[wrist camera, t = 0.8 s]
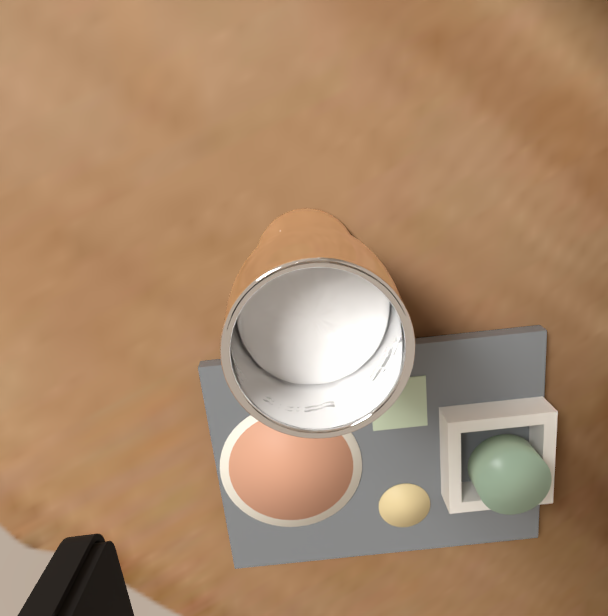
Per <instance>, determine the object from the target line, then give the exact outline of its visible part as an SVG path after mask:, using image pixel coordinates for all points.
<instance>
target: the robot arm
mask: <svg viewBox="0 0 608 616" xmlns="http://www.w3.org/2000/svg"><path fill="white" fill-rule="evenodd" d="M18 616H134V614H133V610H132V606H131V603H130V599H129V595H128V592H127V588H126V585H125V581H124V578H123V574H122V570H121V567H120V563H119V560H118V556H117V552H116V549H115V546H114V544H113V543H112V542H111V541H107V542H105V540H104V538H103V536H102V535H101V534H91V535H83V536H75V537H67V538H65V539H64V540H63V541H62V542H61V543H60V545H59V547H58V548H57V550H56V552H55V553H54V555H53V557H52V558H51V560H50V562H49V564H48V565H47V567H46V569H45V570H44V572H43V574H42V575H41V577H40V579H39V580H38V582H37V584H36V586H35V587H34V589H33V591H32V592H31V594H30V596H29V597H28V599H27V601H26V603H25V604H24V606H23V608H22V609H21V611H20V613H19V614H18Z"/></svg>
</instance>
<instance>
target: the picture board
mask: <svg viewBox="0 0 608 616" xmlns="http://www.w3.org/2000/svg"><path fill="white" fill-rule="evenodd" d="M546 343H547V330H546V329H544V328H543V327H542V326H540V325H535V326H526V327H516V328H507V329H498V330H488V331H479V332H469V333H460V334H451V335H441V336H432V337H423V338H415V358H414V364H413V368H412V371H411V374H410V377H409V380H408V382H407V384H406V386H405V388H404V390H403V391H402V393H401V395H400V396H399V397H398V399H397V400H396V401H395V403H394V404H393V405H392V406H391V407H390V408H389V409H388V410H387V411H386V412H385V413H384V414H383V415H381V416H380V417H379V418H378V419H376V420H375V421H373V422H372V423H370V424H368V425H367V426H365V427H363V428H361V429H359V430H356V431H354V432H351V433H348V434H345V435H341V436H337V437H331V438H319V439H313V438H301V437H295V436H291V435H287V434H284V433H281V432H278V431H276V430H274V429H272V428H270V427H268V426H266V425H264V424H262V423H261V422H259V421H258V420H257V419H255V418H254V417H253V416H251V415H250V414H249V413H248V412H247V411H246V410H245V409H244V408H243V407H242V406H241V405H240V403H239V402H238V401H237V399H236V398H235V397H234V395H233V393H232V392H231V390H230V388H229V386H228V384H227V382H226V379H225V376H224V373H223V369H222V365H221V359H216V360H207V361H200V364H199V366H198V371H199V376H200V382H201V387H202V392H203V398H204V403H205V409H206V414H207V420H208V425H209V430H210V436H211V441H212V447H213V452H214V458H215V463H216V468H217V474H218V479H219V485H220V490H221V496H222V501H223V506H224V512H225V517H226V523H227V528H228V534H229V539H230V544H231V550H232V555H233V561H234V566H235V569H237V568H247V567H256V566H266V565H276V564H285V563H295V562H305V561H315V560H324V559H334V558H344V557H354V556H363V555H373V554H383V553H393V552H402V551H412V550H422V549H432V548H441V547H451V546H461V545H471V544H480V543H490V542H500V541H510V540H519V539H529V538H538V529H539V506H540V505H541V504H550V503H553V493H554V474H555V455H556V436H557V417H558V411H557V410H556V409H555V408H554V407H553V406H552V405H551V404H550V403H549V402H548V401H547V400H546V399H545V398H544V389H545V366H546ZM501 434H512V435H517V436H520V437H522V438H524V439H525V440H527V441H528V442H529V443H530V444H531V445H532V446H533V448H534V449H535V450H536V452H537V453H538V454H539V455H540V457H541V458H542V459H543V460H544V462H545V463H546V464H547V465H548V467H549V469H550V472H551V476H552V481H551V487H550V490H549V492H548V494H547V495H546V497H545V498H544V499H543V501H542V502H541V503H539V504H538V505H537V506H536V507H534V508H533V509H531V510H529V511H526V512H524V513H520V514H513V515H506V514H500V513H497V512H494V511H492V510H491V509H489V508H488V507H487V506H486V505H485V504H484V503H483V502H482V500H481V498H480V496H479V494H478V493H477V491H476V489H475V487H474V485H473V483H472V481H471V479H470V477H469V475H468V461H469V458H470V455H471V454H472V452H473V451H474V449H475V448H476V447H477V446H478V445H479V444H480V443H481V442H483V441H484V440H486V439H488V438H490V437H493V436H496V435H501Z"/></svg>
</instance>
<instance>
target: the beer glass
mask: <svg viewBox="0 0 608 616" xmlns="http://www.w3.org/2000/svg"><path fill="white" fill-rule="evenodd" d="M220 358H221V365H222V369H223V373H224V376H225V379H226V382H227V384H228V386H229V388H230V390H231V392H232V393H233V395H234V397H235V398H236V399H237V401H238V402H239V403H240V405H241V406H242V407H243V408H244V409H245V410H246V411H247V412H248V413H249V414H250V415H251V416H253V417H254V418H255V419H257V420H258V421H259V422H261V423H262V424H264V425H266V426H268V427H270V428H272V429H274V430H276V431H278V432H281V433H284V434H287V435H291V436H295V437H301V438H313V439H319V438H331V437H337V436H341V435H345V434H348V433H351V432H354V431H356V430H359V429H361V428H363V427H365V426H367V425H368V424H370V423H372V422H373V421H375V420H376V419H378V418H379V417H380V416H381V415H383V414H384V413H385V412H386V411H387V410H388V409H389V408H390V407H391V406H392V405H393V404H394V403H395V401H396V400H397V399H398V397H399V396H400V395H401V393H402V391H403V390H404V388H405V386H406V384H407V382H408V380H409V377H410V374H411V371H412V368H413V364H414V358H415V335H414V329H413V325H412V321H411V318H410V315H409V313H408V311H407V309H406V307H405V305H404V303H403V301H402V299H401V296H400V294H399V292H398V289H397V287H396V285H395V283H394V281H393V279H392V278H391V276H390V274H389V273H388V271H387V269H386V268H385V266H384V265H383V263H382V262H381V261H380V260H379V258H378V257H377V256H376V255H375V254H374V253H373V252H372V251H371V250H370V249H369V248H368V247H367V246H366V245H365V244H364V243H362V242H361V241H359V240H358V239H357V238H355V237H353V236H352V235H350V233H349V231H348V230H347V228H346V227H345V226H344V225H343V224H342V223H341V222H340V221H339V220H338V219H337V218H335V217H334V216H332V215H331V214H329V213H326V212H324V211H321V210H317V209H309V208H303V209H296V210H292V211H289V212H286V213H284V214H282V215H280V216H279V217H277V218H276V219H275V220H273V221H272V222H271V223H270V224H269V225H268V227H267V228H266V229H265V231H264V232H263V234H262V236H261V238H260V240H259V243H258V246H257V248H256V249H255V250H254V251H253V252H252V253H251V254H250V255H249V256H248V258H247V259H246V261H245V262H244V264H243V265H242V267H241V269H240V271H239V272H238V274H237V276H236V278H235V280H234V283H233V285H232V288H231V292H230V295H229V299H228V302H227V307H226V313H225V319H224V325H223V329H222V334H221V341H220Z"/></svg>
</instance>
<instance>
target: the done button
mask: <svg viewBox="0 0 608 616" xmlns="http://www.w3.org/2000/svg"><path fill="white" fill-rule="evenodd" d="M468 475H469V477H470V479H471V481H472V483H473V485H474V487H475V489H476V491H477V493H478V494H479V496H480V498H481V500H482V502H483V503H484V504H485V505H486V506H487V507H488V508H489V509H491V510H492V511H494V512H497V513H500V514H506V515H513V514H520V513H524V512H526V511H529V510H531V509H533V508H534V507H536V506H537V505H538V504H539V503H541V502H542V501H543V499H544V498H545V497H546V495H547V494H548V492H549V490H550V487H551V481H552V476H551V472H550V469H549V467H548V465H547V464H546V463H545V462H544V460H543V459H542V458H541V457H540V455H539V454H538V453H537V452H536V450H535V449H534V448H533V446H532V445H531V444H530V443H529V442H528V441H527V440H525V439H524V438H522V437H520V436H517V435H512V434H501V435H496V436H493V437H490V438H488V439H486V440H484V441H483V442H481V443H480V444H479V445H478V446H477V447H476V448H475V449H474V451H473V452H472V454H471V455H470V458H469V461H468Z"/></svg>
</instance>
